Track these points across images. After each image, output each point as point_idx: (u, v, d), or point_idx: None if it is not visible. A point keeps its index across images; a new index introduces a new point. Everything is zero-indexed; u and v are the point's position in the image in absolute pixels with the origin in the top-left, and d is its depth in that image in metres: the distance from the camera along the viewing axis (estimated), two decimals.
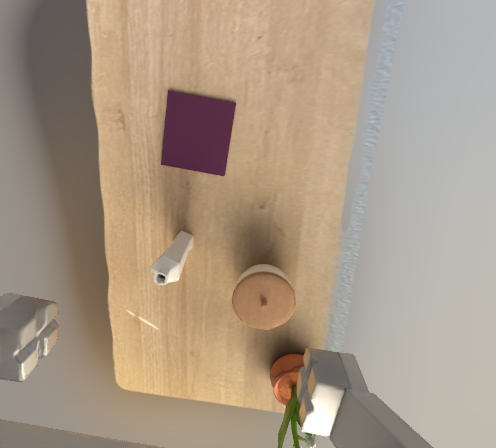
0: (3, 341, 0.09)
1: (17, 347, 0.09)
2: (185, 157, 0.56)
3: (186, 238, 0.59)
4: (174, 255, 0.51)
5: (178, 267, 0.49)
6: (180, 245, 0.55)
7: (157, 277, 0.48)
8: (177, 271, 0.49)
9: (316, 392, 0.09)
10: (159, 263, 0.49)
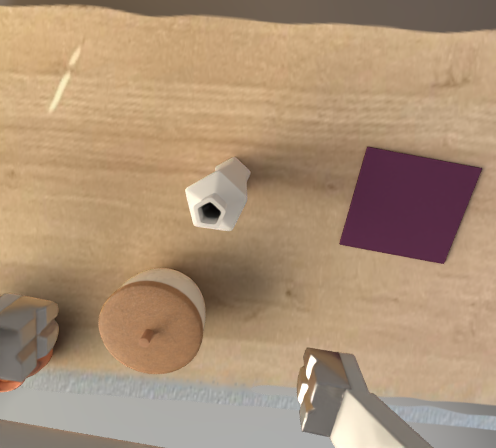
0: (3, 341, 0.09)
1: (17, 347, 0.09)
2: (375, 188, 0.35)
3: None
4: None
5: (223, 229, 0.25)
6: None
7: None
8: None
9: (316, 392, 0.09)
10: (232, 194, 0.24)
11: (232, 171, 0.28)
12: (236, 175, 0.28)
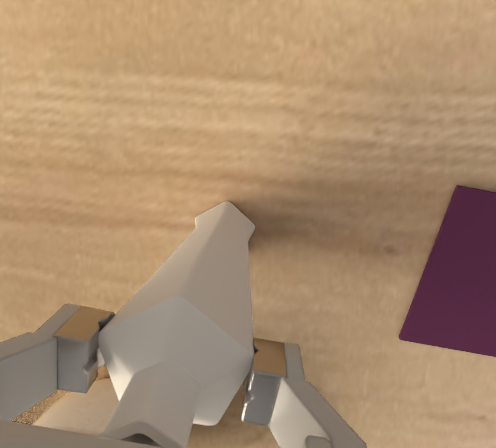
0: (70, 353, 0.09)
1: (84, 359, 0.09)
2: (465, 253, 0.21)
3: None
4: None
5: (195, 423, 0.10)
6: None
7: None
8: None
9: (252, 381, 0.09)
10: (214, 355, 0.09)
11: (220, 253, 0.14)
12: (229, 262, 0.14)
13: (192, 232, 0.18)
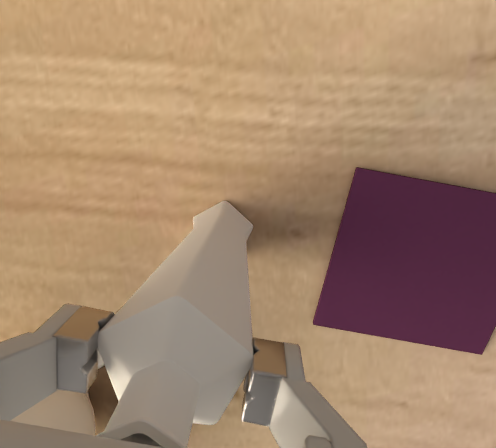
0: (70, 353, 0.09)
1: (83, 359, 0.09)
2: (370, 236, 0.21)
3: None
4: None
5: (195, 422, 0.10)
6: None
7: None
8: None
9: (252, 381, 0.09)
10: (214, 354, 0.09)
11: (219, 253, 0.14)
12: (227, 261, 0.14)
13: (190, 232, 0.18)
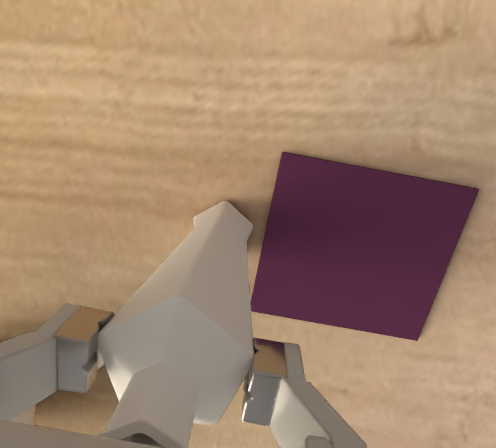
0: (70, 353, 0.09)
1: (84, 359, 0.09)
2: (299, 222, 0.21)
3: None
4: None
5: (195, 422, 0.10)
6: None
7: None
8: None
9: (253, 381, 0.09)
10: (215, 354, 0.09)
11: (219, 253, 0.14)
12: (227, 261, 0.14)
13: (190, 232, 0.18)
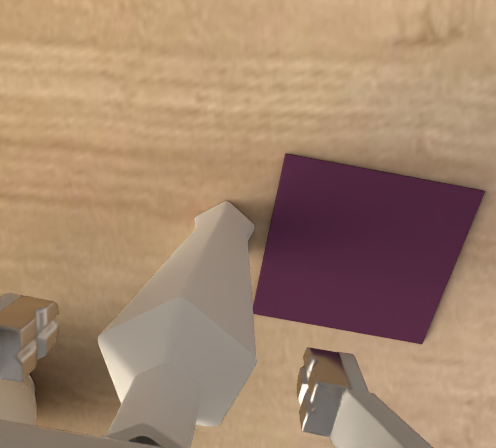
0: (3, 341, 0.09)
1: (17, 347, 0.09)
2: (302, 224, 0.21)
3: None
4: None
5: (197, 424, 0.10)
6: None
7: None
8: None
9: (316, 392, 0.09)
10: (217, 356, 0.09)
11: (221, 254, 0.14)
12: (229, 262, 0.14)
13: (192, 232, 0.18)
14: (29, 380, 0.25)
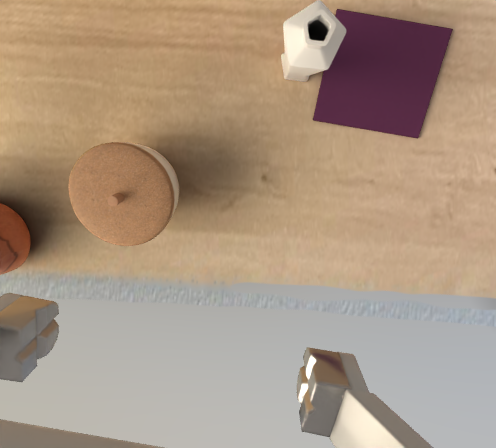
0: (3, 341, 0.09)
1: (17, 347, 0.09)
2: (346, 55, 0.35)
3: None
4: None
5: (319, 67, 0.25)
6: None
7: (314, 19, 0.22)
8: (311, 64, 0.25)
9: (316, 392, 0.09)
10: None
11: (316, 28, 0.28)
12: (320, 32, 0.28)
13: None
14: None
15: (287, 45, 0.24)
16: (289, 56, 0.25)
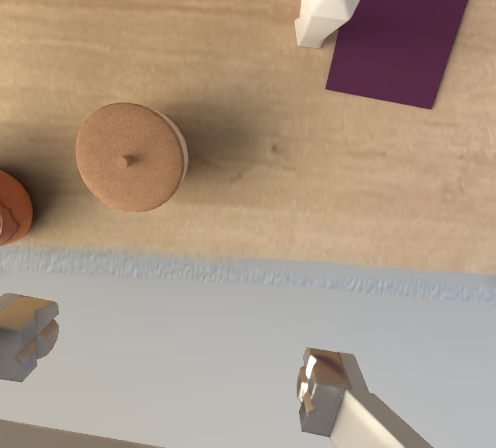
0: (3, 341, 0.09)
1: (17, 347, 0.09)
2: (360, 21, 0.34)
3: None
4: None
5: (341, 17, 0.24)
6: None
7: None
8: (333, 14, 0.24)
9: (316, 392, 0.09)
10: None
11: None
12: None
13: None
14: None
15: None
16: (310, 5, 0.24)
